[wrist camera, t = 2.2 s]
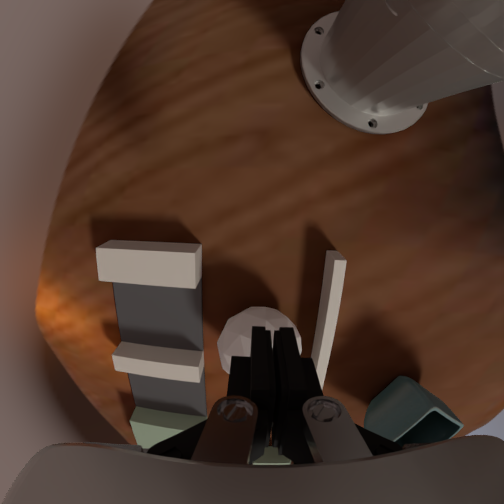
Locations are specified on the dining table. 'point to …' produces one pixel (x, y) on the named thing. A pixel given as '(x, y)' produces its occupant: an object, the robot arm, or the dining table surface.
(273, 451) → the u-shaped rail frame
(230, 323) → the ornament
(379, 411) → the flower pot
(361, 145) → the dining table surface
